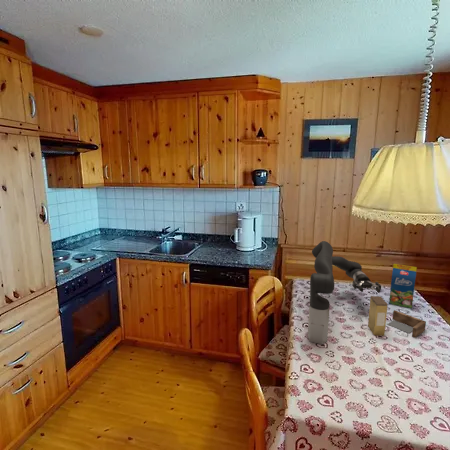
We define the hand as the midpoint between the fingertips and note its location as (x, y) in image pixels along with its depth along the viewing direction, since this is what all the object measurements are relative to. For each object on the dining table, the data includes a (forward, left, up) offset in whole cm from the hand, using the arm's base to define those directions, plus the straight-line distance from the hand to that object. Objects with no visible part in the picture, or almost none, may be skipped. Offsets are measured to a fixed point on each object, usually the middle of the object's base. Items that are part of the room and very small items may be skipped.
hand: (370, 290), depth 163 cm
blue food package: (+29, -18, -17) cm, 38 cm away
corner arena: (-2, -17, -17) cm, 24 cm away
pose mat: (-1, -16, -17) cm, 23 cm away
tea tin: (-11, -4, -17) cm, 21 cm away
